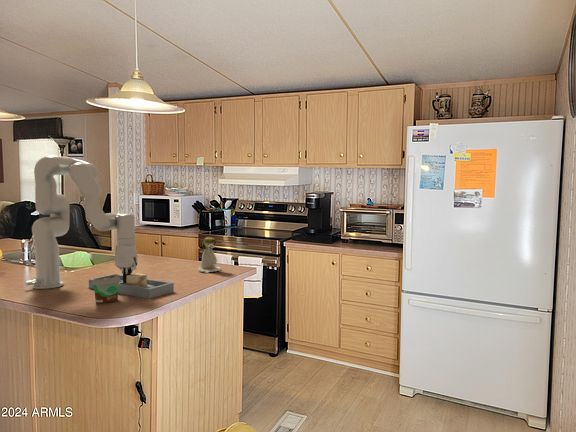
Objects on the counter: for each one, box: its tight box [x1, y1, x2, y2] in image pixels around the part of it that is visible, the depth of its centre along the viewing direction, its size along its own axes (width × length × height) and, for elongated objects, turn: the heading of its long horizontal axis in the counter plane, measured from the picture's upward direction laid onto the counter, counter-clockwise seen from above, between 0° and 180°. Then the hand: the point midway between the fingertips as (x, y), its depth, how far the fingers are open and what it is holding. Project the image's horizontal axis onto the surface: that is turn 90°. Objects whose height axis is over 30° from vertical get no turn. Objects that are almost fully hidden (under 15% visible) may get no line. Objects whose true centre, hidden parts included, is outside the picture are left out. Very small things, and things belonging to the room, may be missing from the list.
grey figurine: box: [198, 236, 222, 274], centre depth 242 cm, size 12×13×18 cm
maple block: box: [126, 272, 148, 287], centre depth 197 cm, size 6×6×5 cm
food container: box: [92, 273, 121, 305], centre depth 179 cm, size 12×6×10 cm, turn 158°
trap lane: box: [88, 273, 175, 300], centre depth 199 cm, size 14×38×4 cm, turn 61°
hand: (127, 282), depth 200 cm, fingers closed
